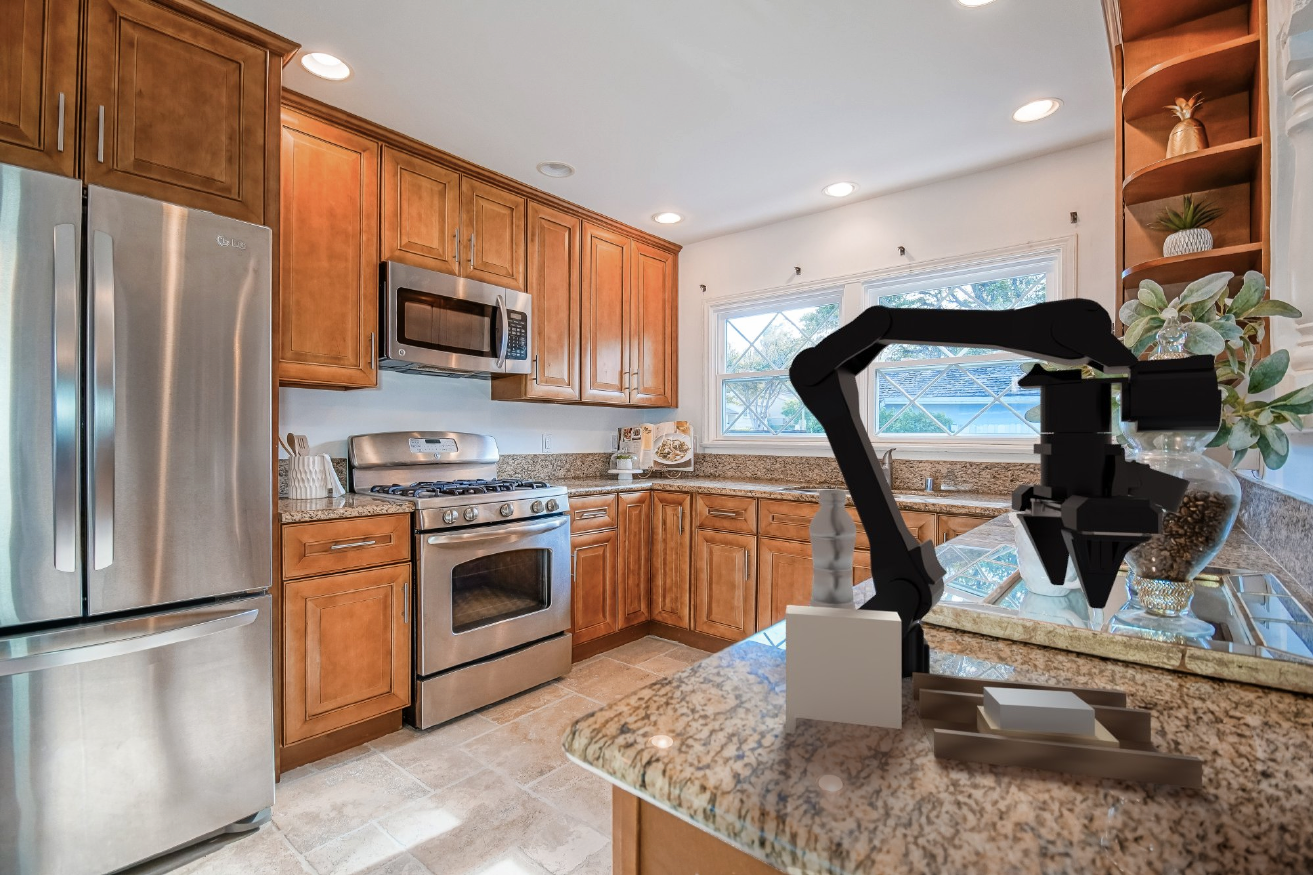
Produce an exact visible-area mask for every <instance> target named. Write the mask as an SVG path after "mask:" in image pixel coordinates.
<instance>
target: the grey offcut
mask: <svg viewBox="0 0 1313 875" xmlns="http://www.w3.org/2000/svg"><path fill="white" fill-rule="evenodd" d="M984 711H985V712H986V713H987V714H988V716H989V717H990V718H991V719H992V720H993V721H994V722H995V724H996V725H997V726H998V727H999V728H1000V729H1007V730H1022V731H1037V732H1053V733H1068V734H1084V735H1095V710H1094V709H1093V708H1092V707H1090V706H1089V705H1088V704H1086V703H1085V702H1084V701H1083V700H1081V699H1080V698H1079V697H1077V696H1076V695H1075V694H1073V693H1072V692H1065V691H1047V690H1030V689H1012V688H994V687H984Z"/></svg>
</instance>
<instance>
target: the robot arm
mask: <svg viewBox="0 0 1313 875" xmlns="http://www.w3.org/2000/svg"><path fill="white" fill-rule="evenodd" d="M1112 332H1113V320H1112V318H1111V315H1110V314H1109V312H1108V311H1107V310H1106V308H1105V307H1104V306H1103V305H1102V304H1100V303H1099V302H1098V301H1095V300H1092V299H1088V298H1082V297H1076V298H1075V297H1073V298H1067V299H1066V298H1065V299H1058V300H1051V301H1044V302H1036V303H1031V304H1027V305H1023V306H1018V307H1013V308H1008V309H969V308H968V309H965V308H962V309H959V308H958V309H957V308H929V307H927V308H925V307H923V308H922V307H920V308H919V307H890V306H885V305H881V304H877V305H871V306H869V307H868V308H866V309H864V310H863V311H862V312H861V313H860V314H859V315H857V317H855V318H854V319H853V320H851V321H850V322H848V323H847V324H844V325H843V326H841V327H840V328H838V329H836V330H834V331H832V333H830V334H828V335H826V336H825V337H824V338H823V339H822V340H821V341H819V342H818V343H817V344H816V345H815V346H811V347H808V348H807V347H806V348H804V349H803V350H801V351H800V352H798V353H797V355H796V356H795V357H794V358H793V359H792V362H791V364H790V367H789V368H788V377H789V382H790V383H791V386H792V388H793V389H794V391H795V392H796V393H797V396H798V397H799V398H800V400H801V402H802V404H803V405H804V407H806V409H807V410H808V411H809V412H810V414H812V416H813V417H814V418H815V419H816V420H817V422H818V423H819V424H820V425H821V427H822V428H823V430H824V433H825V435H826V437H827V441H828V442H829V446H830V448H831V450H832V453H833V456H834V457H835V460H836V463H837V465H838V468H839V470H840V473H841V475H842V478H843V480H844V482H845V483H844V484H845V485H846V487H847V490H848V493H849V495H850V497H851V499H852V500H851V501H852V503H853V505H854V508H855V509H856V512H857V514H858V517H859V520H860V522H861V526H862V527H863V530H864V532H865V535H866V537H867V540H868V544H869V560H870V573H871V577H872V583H873V587H874V591H875V594H874V595H873V596H872V597H871V598H870V599H868V600H866V602H865V603H863V604H862V605H861V606H859V607H858V608H856V609H857V610H873V611H888V612H897V613H898V615H899V617H900V619H901V678H902V679H907V678H908V679H909V678H913V672H916V673H927V674H931V673H930V672H931V670H930V668H931V667H930V664H931V663H930V662H931V661H930V660H931V659H930V657H931V655H930V652H931V648H930V647H931V646H930V644H929V643H928V641H927V638H925V630H924V629H923V627H922V626H921V624H920V623H919V622H920V621H922V620H923V618H924V617H925V616H926V615H928V614H929V612H930V611H931V610H932V609H934V607H935V606H936V605H937V604H938V603H939V602H940V601H941V599H942V598H943V595H944V592H945V582H944V578H943V577H945V575H947V574H948V572H947V570H946V569H945V568H944V567H943V566H942V565H941V563H940V562H939V560H938V556H937V553H936V548H935V545H934V542H933V540H932V539H927V540H926V541H923V542H921V543H920V542H919V541H918V540H917V538H916V537H915V536H914V535H913V533H912V532H911V531H910V530H909V528H908V527H907V525H906V523H905V520H904V518H903V515H902V513H901V511H900V508H899V506H898V503H897V501H896V498H895V496H894V493H893V492H892V489H891V486H890V485H889V481H888V480H887V477H886V475H885V473H884V470H883V467H882V465H881V463H880V461H879V458H878V456H877V453H876V451H875V449H874V446H873V444H872V442H871V439H870V437H869V434H868V432H867V430H866V427H865V425H864V423H863V420H862V417H861V413H860V394H859V393H860V392H859V389H858V384H857V379H856V378H857V377H858V375H859V374H861V373H862V372H863V371H865V370H866V369H867V368H868V366H870V365H871V364H872V362H873V361H875V359H876V358H877V357H878V356H879V355H880V354H881V353H882V352H883V350H885V349H886V348H887V347H889V345H891V344H896V345H914V346H927V347H930V346H931V347H948V348H962V349H965V348H967V349H982V350H983V349H985V350H999V351H1004V352H1008V353H1013V354H1017V355H1020V356H1023V357H1028V358H1030V359H1036V360H1039V361H1044V362H1049V363H1053V364H1058V365H1061V366H1068V367H1072V366H1073V367H1076V366H1077V367H1078V366H1084V365H1086V366H1088V367H1090V368H1091V369H1094V370H1096V371H1098V372H1100V373H1102V374H1104V375H1111V376H1112V375H1127V376H1120V377H1119V376H1118V377H1117V376H1116V377H1115V376H1114V377H1090V378H1089V377H1085V378H1084V377H1083V369H1082V368H1074V369H1073V368H1072V369H1070V368H1069V369H1056V370H1054V369H1053V370H1047V369H1045V368H1044V367H1043V366H1042V365H1041V364H1040V363H1039V362H1037V363H1034V364H1033V366H1032V368H1031V369H1030V371H1029V372H1027V374H1025V375H1024V376H1023V377H1022V378H1019V380H1018V381H1017V385H1018V386H1019V387H1020V388H1021V389H1023V390H1037V389H1038V390H1039V389H1040V390H1039V393H1040V394H1039V396H1040V399H1039V402H1040V404H1039V406H1040V408H1039V409H1040V412H1039V413H1040V414H1039V415H1040V420H1039V421H1040V426H1039V428H1040V429H1039V430H1040V438H1039V439H1040V443H1033V454H1034V455H1035V454H1036V455H1040V456H1039V458H1040V483H1039V484H1037V483H1034V484H1021V483H1020V484H1019V485H1018V486H1017V487H1016V488H1015V489H1014V490H1013V491H1012V492H1011V509H1012V510H1014V511H1016V512H1018V513H1016V518H1017V519H1018V520H1019V522H1020V524H1021V525H1022V528H1023V530H1024V532H1025V534H1026V535H1027V537H1028V540H1029V541H1030V543H1031V545H1032V548H1033V549H1034V551H1035V553H1036V555H1037V557H1038V559H1039V561H1040V564H1041V566H1042V568H1043V570H1044V572H1045V574H1046V576H1047V579H1048V580H1049V583H1050V584H1051V585H1053V586H1064V585H1065V582H1066V578H1067V571H1068V566H1069V560H1071V562H1072V564H1073V567H1074V570H1075V574H1076V576H1077V578H1078V582H1079V585H1080V587H1081V590H1082V592H1083V594H1084V597H1085V599H1086V602H1087V605H1088V606H1089V607H1090V608H1092V609H1099V610H1101V609H1102V610H1103V609H1104V608H1105V607H1106V606H1107V603H1108V600H1109V598H1110V596H1111V592H1112V590H1113V587H1114V584H1115V582H1116V579H1117V577H1118V573H1119V571H1120V569H1121V566H1122V564H1123V563H1124V560H1125V557H1126V556H1127V554H1128V553H1129V552H1131V551H1132V550H1134V549H1135V548H1137V547H1138V546H1140V545H1142V544H1143V543H1149V542H1151V541H1152V540H1153V538H1154V536H1153V535H1161V534H1163V532H1164V524H1163V522H1164V521H1163V519H1164V518H1163V516H1164V514H1163V510H1165V511H1168V512H1169V513H1172V514H1177V513H1178V511H1179V509H1180V506H1181V505H1182V502H1183V500H1184V497H1185V494H1186V492H1187V490H1188V488H1189V486H1190V484H1191V481H1189V480H1188V479H1185V478H1182V477H1180V476H1176V475H1173V474H1169V473H1166V472H1163V471H1160V470H1157V469H1154V468H1151V466H1150V464H1149V463H1145V462H1138V461H1137V460H1136V459H1134V458H1126V449H1125V447H1123V446H1122V443H1113V434H1112V432H1113V402H1112V399H1113V390H1112V389H1113V386H1120V387H1119V390H1120V394H1119V396H1120V397H1119V398H1120V399H1119V400H1120V403H1119V404H1120V406H1119V409H1120V410H1119V411H1120V415H1119V416H1120V422H1121V423H1129V424H1131V423H1132V424H1133V423H1134V429H1135V433H1137V434H1140V433H1142V434H1143V433H1144V434H1145V433H1149V434H1151V433H1152V434H1155V433H1157V434H1158V433H1161V434H1162V433H1163V434H1164V433H1166V434H1167V433H1170V434H1171V433H1217V432H1218V431H1219V428H1220V425H1221V416H1222V407H1223V406H1222V405H1223V402H1222V400H1223V399H1222V398H1223V394H1222V392H1223V391H1222V388H1221V389H1219V380H1218V374H1217V370H1216V368H1215V355H1214V354H1212V353H1208V354H1194V355H1189V356H1185V357H1179V358H1178V357H1177V358H1161V359H1159V358H1158V359H1146V360H1145V359H1143V360H1139V358H1138V357H1137V356H1136V355H1135V354H1134V353H1133V349H1132V348H1130V349H1129V348H1128V347H1127V346H1126V345H1125V344H1124V343H1123V342H1122V341H1121V340H1119V338H1118V337H1116V335H1115V334H1113V333H1112ZM1019 512H1021V513H1019ZM1022 512H1024V513H1022Z"/></svg>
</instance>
